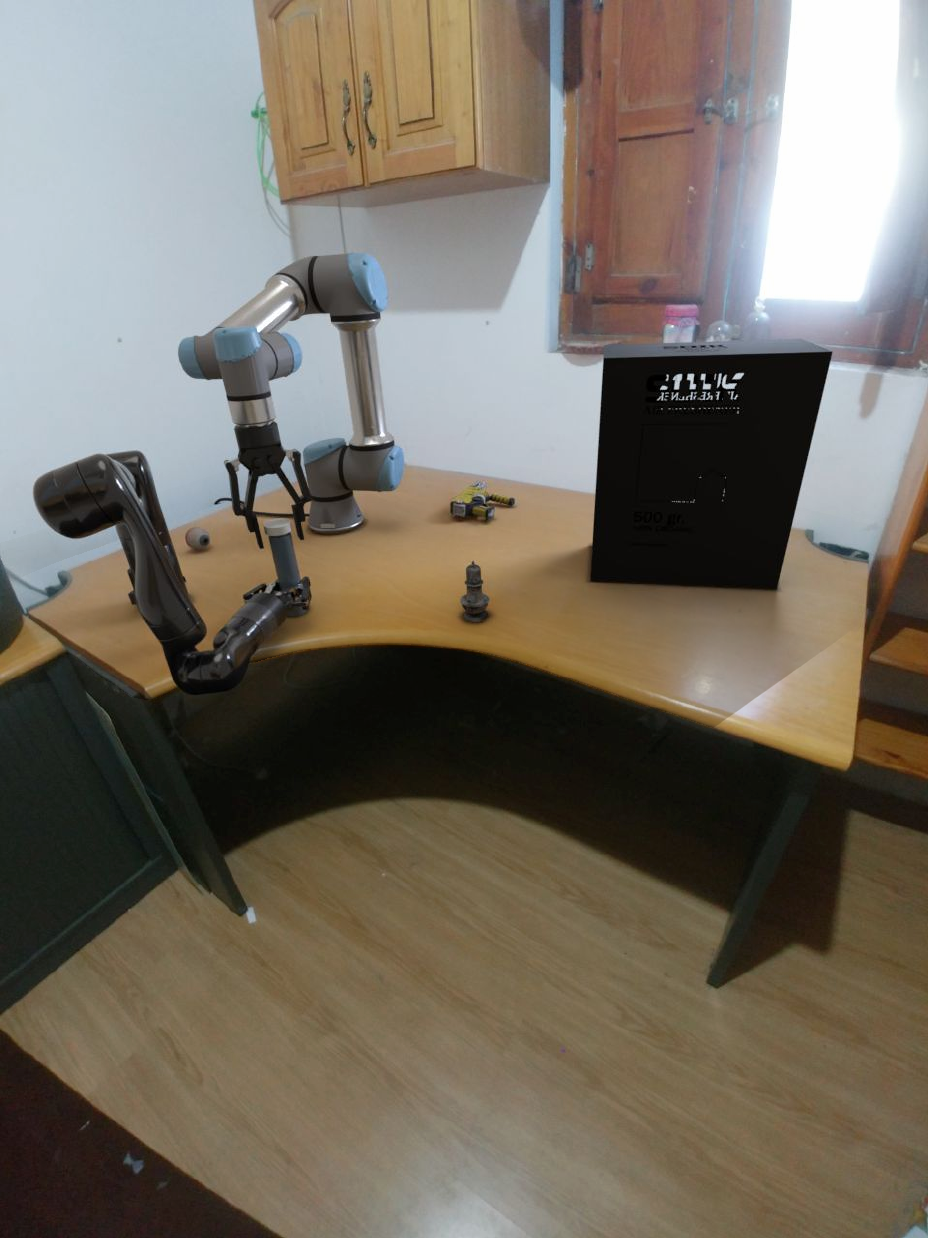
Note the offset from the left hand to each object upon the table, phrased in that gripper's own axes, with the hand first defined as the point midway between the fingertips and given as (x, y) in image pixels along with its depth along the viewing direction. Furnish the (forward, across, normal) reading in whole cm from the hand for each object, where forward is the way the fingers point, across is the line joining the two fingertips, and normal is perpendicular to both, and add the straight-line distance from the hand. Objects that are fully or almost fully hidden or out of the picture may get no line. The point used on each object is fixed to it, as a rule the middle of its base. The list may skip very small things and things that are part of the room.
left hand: (296, 580), depth 126 cm
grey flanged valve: (-1, -38, +6) cm, 38 cm away
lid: (-3, 0, -13) cm, 14 cm away
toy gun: (+62, -31, +6) cm, 69 cm away
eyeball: (+26, +40, +6) cm, 48 cm away
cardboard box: (+26, -79, +6) cm, 84 cm away
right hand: (-3, 0, -10) cm, 10 cm away
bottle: (-3, 0, +6) cm, 7 cm away
